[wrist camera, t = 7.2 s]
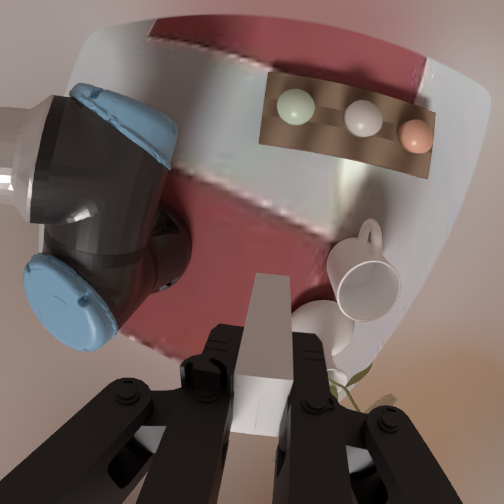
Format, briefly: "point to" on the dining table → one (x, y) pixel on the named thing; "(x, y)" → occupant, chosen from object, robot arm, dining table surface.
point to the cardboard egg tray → (333, 130)
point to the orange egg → (415, 136)
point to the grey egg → (362, 119)
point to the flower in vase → (332, 342)
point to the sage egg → (295, 107)
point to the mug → (363, 275)
